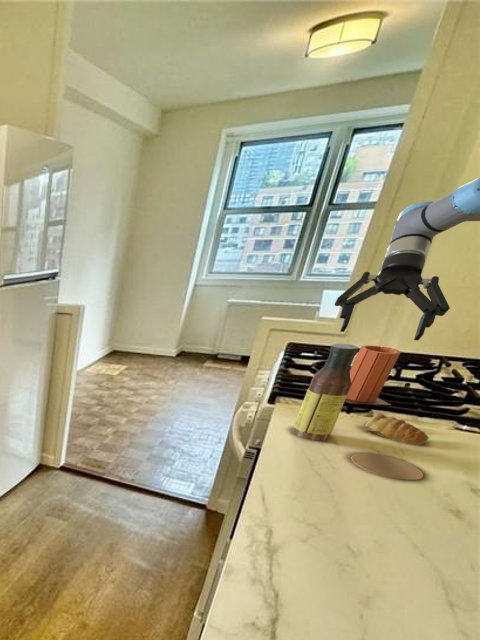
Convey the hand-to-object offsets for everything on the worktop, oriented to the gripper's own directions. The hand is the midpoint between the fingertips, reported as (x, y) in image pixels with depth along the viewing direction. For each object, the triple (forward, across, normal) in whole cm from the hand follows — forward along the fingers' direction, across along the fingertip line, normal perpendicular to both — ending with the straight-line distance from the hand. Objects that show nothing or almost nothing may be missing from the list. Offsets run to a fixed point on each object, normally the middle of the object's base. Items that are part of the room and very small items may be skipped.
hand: (379, 333), depth 119 cm
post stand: (+18, 0, -4) cm, 18 cm away
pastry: (+31, -5, +9) cm, 33 cm away
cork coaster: (+44, -3, +23) cm, 50 cm away
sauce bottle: (+38, +8, +17) cm, 43 cm away
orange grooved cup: (+17, 0, -3) cm, 17 cm away
